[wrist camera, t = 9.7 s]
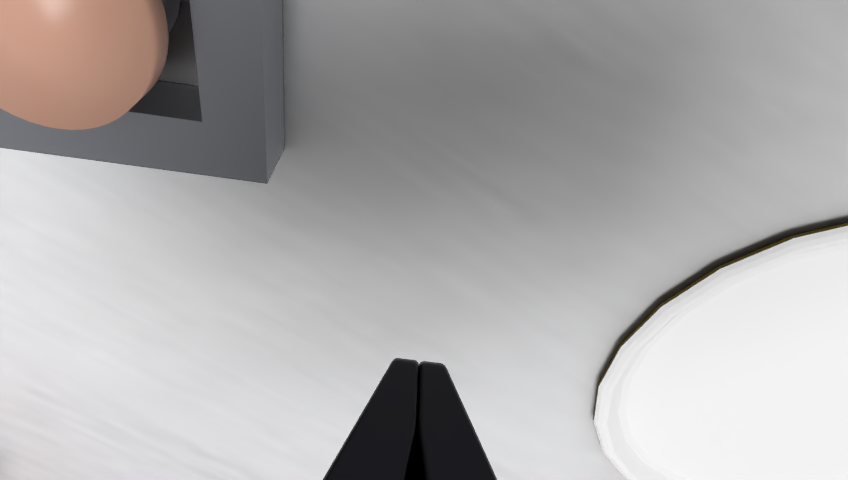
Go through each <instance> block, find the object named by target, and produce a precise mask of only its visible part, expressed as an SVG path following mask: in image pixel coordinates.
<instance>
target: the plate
mask: <svg viewBox="0 0 848 480" xmlns="http://www.w3.org/2000/svg"><path fill="white" fill-rule="evenodd" d="M593 420H594V425H595V428H596V431H597V434H598V438H599V441H600V444H601V448H602V451H603V453H604V454H605V455H606V457H607V458H608V459H609V460H610V461H611V462H612V464H613V465H614V466H615V467H616V468H617V469H618V470H619V472H620V473H621V474H622V475H623V476H624V477H625V478H626V479H628V480H848V223H844V224H840V225H836V226H831V227H827V228H823V229H818V230H814V231H810V232H805V233H801V234H797V235H792V236H790V237H787V238H785V239H783V240H780V241H778V242H776V243H773V244H771V245H768V246H766V247H764V248H761V249H759V250H756V251H754V252H752V253H749V254H747V255H744V256H742V257H740V258H737V259H735V260H732V261H730V262H728V263H725V264H723V265H720V266H718V267H717V268H715V269H714V270H712V271H711V272H709V273H708V274H706V275H704V276H703V277H701V278H700V279H698V280H697V281H695V282H694V283H692V284H691V285H689V286H687V287H686V288H684V289H683V290H681V291H680V292H678V293H677V294H675V295H674V296H672V297H670V298H669V299H667V300H666V301H664V302H663V303H661V304H660V305H659V306H658V307H657V308H656V309H655V310H654V311H653V312H652V313H651V314H650V315H649V316H648V317H647V318H646V319H645V320H644V321H643V322H642V323H641V324H640V325H639V326H638V327H637V328H636V329H635V330H634V331H633V332H632V333H631V334H630V335H629V336H628V337H627V338H626V339H625V340H624V341H623V342H622V343H621V344H620V346H619V347H618V349H617V351H616V353H615V354H614V356H613V358H612V360H611V362H610V363H609V365H608V367H607V369H606V371H605V372H604V374H603V376H602V378H601V380H600V381H599V383H598V390H597V397H596V404H595V411H594V418H593Z"/></svg>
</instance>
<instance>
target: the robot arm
mask: <svg viewBox="0 0 848 480" xmlns="http://www.w3.org/2000/svg"><path fill="white" fill-rule="evenodd" d="M323 480H497V478H496V476H495V474H494V472H493V469H492V467H491V465H490V463H489V461H488V458H487V456H486V454H485V452H484V450H483V447H482V445H481V443H480V441H479V439H478V436H477V434H476V432H475V430H474V428H473V425H472V423H471V421H470V419H469V417H468V414H467V412H466V410H465V408H464V406H463V403H462V401H461V399H460V397H459V395H458V392H457V390H456V388H455V386H454V384H453V381H452V379H451V377H450V375H449V373H448V370H447V368H446V367H445V365H443V364H441V363H434V362H426V361H423V362H421V363H420V364H418V362H417V361H415V360H409V359H401V358H396V359H394V360H393V361H392V363H391V364H390V366H389V368H388V369H387V371H386V373H385V374H384V376H383V378H382V380H381V381H380V383H379V385H378V386H377V388H376V390H375V391H374V393H373V395H372V397H371V398H370V400H369V402H368V403H367V405H366V407H365V409H364V410H363V412H362V414H361V415H360V417H359V419H358V420H357V422H356V424H355V426H354V427H353V429H352V431H351V432H350V434H349V436H348V438H347V439H346V441H345V443H344V444H343V446H342V448H341V449H340V451H339V453H338V455H337V456H336V458H335V460H334V461H333V463H332V465H331V467H330V468H329V470H328V472H327V473H326V475H325V477H324V478H323Z"/></svg>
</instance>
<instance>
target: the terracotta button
mask: <svg viewBox="0 0 848 480" xmlns="http://www.w3.org/2000/svg"><path fill="white" fill-rule="evenodd" d="M179 10H180V0H0V109H2V110H4V111H6V112H8V113H10V114H12V115H14V116H16V117H19V118H21V119H24V120H26V121H29V122H32V123H35V124H39V125H42V126H46V127H51V128H56V129H66V130H84V129H91V128H96V127H100V126H103V125H106V124H109V123H111V122H113V121H114V120H116V119H118V118H120V117H121V116H122V115H124V114H125V113H126V112H128V111H129V110H130V109H131V108H132V107H133V106H134V105H135V104H136V103H137V102H138V101H139V100H140V99H141V98H142V97H143V96H145V95H146V94H147V93H148V92H149V90H150V89H151V88H152V87H153V86H154V85H155V83H156V82H157V80H158V79H159V77H160V75H161V73H162V70H163V68H164V66H165V62H166V58H167V53H168V41H169V38H168V33H169V32H170V31H171V29H172V28H173V26H174V24H175V22H176V20H177V17H178V14H179Z"/></svg>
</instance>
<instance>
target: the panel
mask: <svg viewBox="0 0 848 480" xmlns="http://www.w3.org/2000/svg"><path fill="white" fill-rule="evenodd" d="M189 1H190V11H191V20H192V30H193V39H194V49H195V58H196V67H197V77H198V86H199V87H198V86H191V85H184V84H177V83H170V82H163V81H157V82H156V83H155V85H154V86H153V87H152V88H151V89H150V90H149V92H148V93H147V94H146V95H145V96H143V97H142V98H141V99H140V100H139V101H138V102H137V103H136V104H135V105H134V106H133V107H132V108H131V109H130V110H129V111H128V112H126V113H125V114H124V115H122V116H121V117H120V118H118V119H116V120H114V121H113V122H111V123H109V124H106V125H103V126H100V127H96V128H91V129H84V130H66V129H56V128H51V127H46V126H42V125H39V124H35V123H32V122H29V121H26V120H24V119H21V118H19V117H16V116H14V115H12V114H10V113H8V112H6V111H4V110H2V109H0V148H7V149H14V150H22V151H29V152H37V153H44V154H51V155H59V156H66V157H74V158H81V159H88V160H96V161H103V162H111V163H118V164H126V165H133V166H140V167H148V168H155V169H163V170H170V171H177V172H185V173H192V174H200V175H207V176H214V177H222V178H229V179H237V180H244V181H251V182H259V183H266V184H267V183H268V181H269V179H270V177H271V175H272V173H273V171H274V169H275V167H276V164H277V162H278V160H279V158H280V156H281V154H282V152H283V150H284V81H283V2H282V0H189Z"/></svg>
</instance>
